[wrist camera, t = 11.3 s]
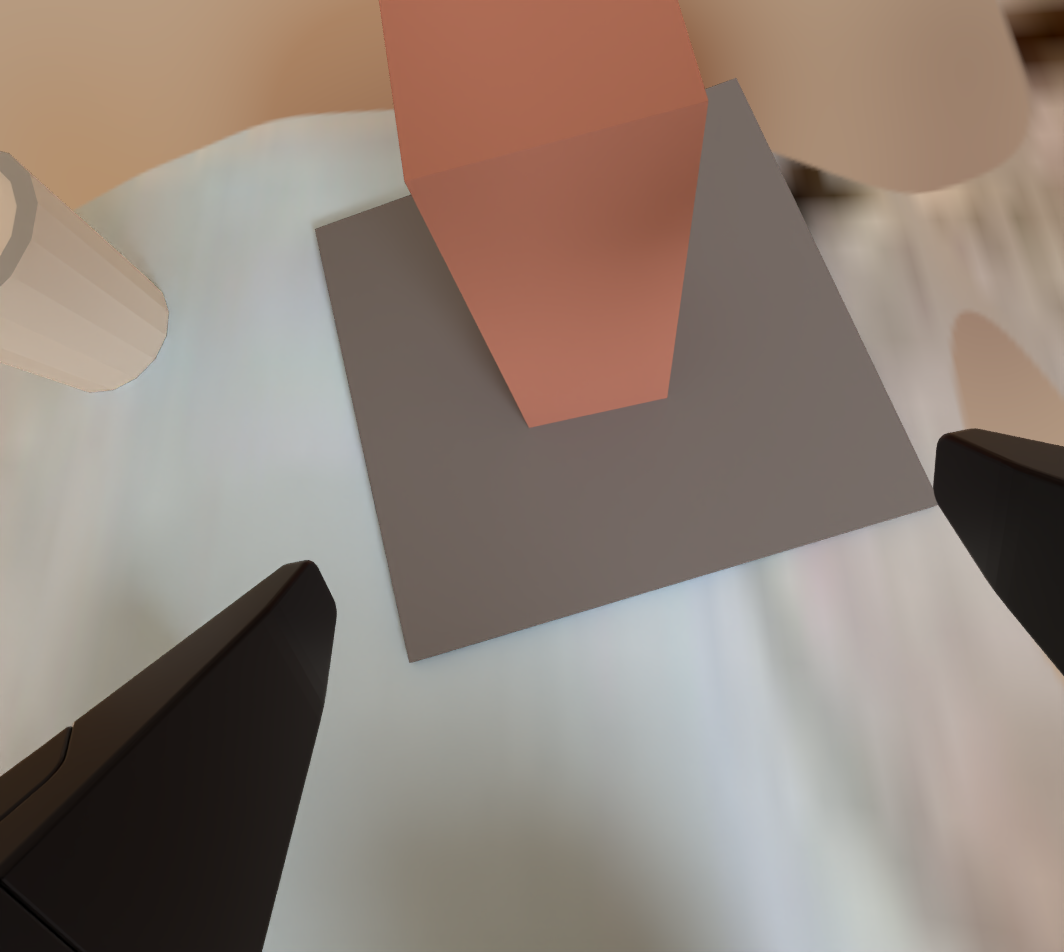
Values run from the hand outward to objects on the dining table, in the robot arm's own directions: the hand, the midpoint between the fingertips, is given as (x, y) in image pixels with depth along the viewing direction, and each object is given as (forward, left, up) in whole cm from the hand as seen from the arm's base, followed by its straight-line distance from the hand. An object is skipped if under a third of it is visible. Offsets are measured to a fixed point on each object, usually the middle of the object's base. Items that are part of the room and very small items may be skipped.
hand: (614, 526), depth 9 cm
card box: (+9, -1, -12) cm, 15 cm away
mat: (+9, -1, -13) cm, 16 cm away
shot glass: (+17, +18, -13) cm, 28 cm away
